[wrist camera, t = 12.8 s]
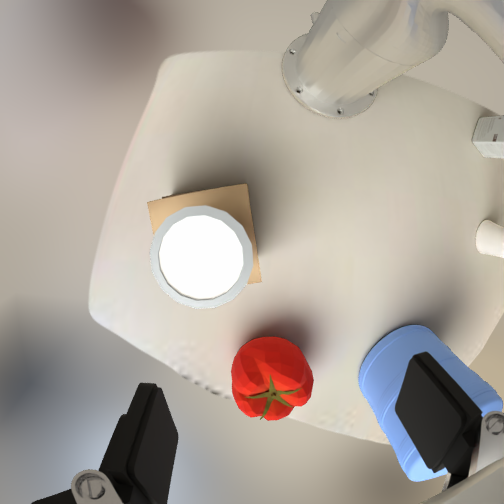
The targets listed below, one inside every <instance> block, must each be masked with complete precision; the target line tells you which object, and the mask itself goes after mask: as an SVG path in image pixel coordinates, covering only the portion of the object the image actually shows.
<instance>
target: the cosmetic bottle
mask: <svg viewBox="0 0 504 504" xmlns="http://www.w3.org/2000/svg"><path fill="white" fill-rule="evenodd" d="M476 247H477V250H478V251H479V252H480V253H481V254H487V255H493V256H498V257H501V258H504V227H501V226H499V225H497V224H495V223H493V222H492V221H490V220H484V221H483V222H482V223H481V224H480V225H479V227H478V230H477V233H476Z"/></svg>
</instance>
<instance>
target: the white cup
mask: <svg viewBox="0 0 504 504" xmlns="http://www.w3.org/2000/svg"><path fill="white" fill-rule="evenodd" d="M150 260H151V267H152V273H153V275H154V277H155V278H156V280H157V282H158V284H159V286H160V287H161V289H162V290H163V291H164V292H165V293H166V294H168V295H169V296H170V297H171V298H172V299H174V300H175V301H176V302H177V303H180V304H183V305H186V306H189V307H192V308H195V309H200V308H216V307H218V306H220V305H222V304H224V303H227V302H229V301H231V300H233V299H234V298H235V297H236V296H237V295H238V294H239V293H240V291H241V290H242V289H243V288H244V287H245V286H246V285H247V282H248V279H249V277H250V274H251V271H252V268H253V253H252V244H251V242H250V240H249V238H248V236H247V234H246V232H245V230H244V228H243V226H242V225H241V224H240V223H239V222H237V221H236V220H235V219H234V218H233V217H232V216H231V215H229V214H228V213H227V212H225V211H222V210H219V209H216V208H213V207H210V206H207V205H204V206H192V207H185V208H183V209H181V210H179V211H177V212H175V213H174V214H172V215H170V216H168V217H167V218H166V219H165V220H164V222H163V223H162V224H161V226H160V227H159V228H158V229H157V231H156V232H155V234H154V238H153V241H152V245H151V249H150Z"/></svg>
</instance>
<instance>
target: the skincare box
mask: <svg viewBox="0 0 504 504" xmlns="http://www.w3.org/2000/svg"><path fill="white" fill-rule="evenodd" d="M472 142H473V144H474V145H475V147H476V148H477V149H478V150H479V152H480V153H481V154H482V155H483V157H489V158H504V115H503V116H491V117H482V118H479V120H478V123H477V126H476V129H475V132H474V135H473V138H472Z"/></svg>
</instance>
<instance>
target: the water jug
mask: <svg viewBox="0 0 504 504" xmlns="http://www.w3.org/2000/svg"><path fill="white" fill-rule="evenodd" d="M425 351H426V352H428V353H430V354H431V355H432V357H433V358H434V359H435V360H436V361H437V362H438V363H439V364H440V365H441V366H442V367H443V368H444V369H445V370H446V371H447V373H448V374H449V375H450V376H451V377H452V378H453V379H454V380H455V381H456V382H457V383H458V385H459V386H460V387H461V388H462V389H463V390H464V391H465V392H466V393H467V395H468V396H469V397H470V398H471V399H472V400H473V401H474V403H475V404H476V405H477V406H478V407H479V408H480V410H481V411H482V412H483V413H482V414H481V415H482V417H484V416H485V415H486V414H487V413H488V412H491V411H500V412H502V408H503V401H502V399H501V397H500V396H499V395H498V394H497V392H496V391H495V390H494V389H493V388H492V387H491V386H490V385H489V384H488V383H487V382H486V381H484V380H483V379H482V378H480V377H479V375H477V374H476V373H475V372H473V371H472V370H470V369H469V368H468V367H467V366H466V365H465V364H464V363H463V362H462V361H461V360H460V359H459V358H458V357H457V356H456V355H455V354H454V353H453V352H452V351H451V350H450V348H449V347H448V346H446V345H445V344H444V343H443V342H442V341H441V340H440V339H439V338H438V337H437V336H436V335H435V334H434V333H433V332H432V331H431V330H430V329H428V328H427V327H425V326H421V325H409V326H405V327H402V328H399V329H397V330H395V331H393V332H391V333H390V334H388V335H387V336H385V337H384V338H383V339H381V340H380V341H379V342H378V343H377V344H376V345H375V346H374V347H373V348H372V350H371V351H370V352H369V354H368V355H367V356H366V358H365V360H364V362H363V364H362V366H361V369H360V372H359V387H360V390H361V392H362V393H363V395H364V397H365V398H366V399H367V401H368V402H369V404H370V406H371V408H372V410H373V412H374V413H375V415H376V418H377V421H378V423H379V425H380V427H381V429H382V430H383V432H384V433H385V434H386V436H387V438H388V440H389V442H390V444H391V445H392V447H393V449H394V451H395V453H396V455H397V458H398V461H399V463H400V465H401V467H402V469H403V471H404V472H405V473H406V474H407V476H408V478H409V479H410V480H412V481H423V480H428V479H431V478H435V477H438V476H441V475H445V474H447V472H448V471H447V469H446V468H444V469H442V470H440V471H438V472H436V473H433V471H432V469H428V468H427V466H426V465H425V463H424V461H423V459H422V458H421V456H420V454H419V452H418V450H417V449H416V447H415V445H414V443H413V442H412V440H411V438H410V437H409V435H408V433H407V431H406V430H405V428H404V426H403V425H402V423H401V421H400V419H399V418H398V416H397V414H396V412H395V404H396V401H397V398H398V395H399V392H400V389H401V386H402V383H403V380H404V377H405V373H406V370H407V366H408V363H409V360H410V359H412V356H413V355H415V354H418V353H422V352H425Z"/></svg>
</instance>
